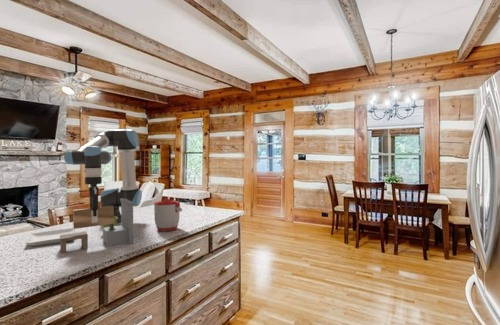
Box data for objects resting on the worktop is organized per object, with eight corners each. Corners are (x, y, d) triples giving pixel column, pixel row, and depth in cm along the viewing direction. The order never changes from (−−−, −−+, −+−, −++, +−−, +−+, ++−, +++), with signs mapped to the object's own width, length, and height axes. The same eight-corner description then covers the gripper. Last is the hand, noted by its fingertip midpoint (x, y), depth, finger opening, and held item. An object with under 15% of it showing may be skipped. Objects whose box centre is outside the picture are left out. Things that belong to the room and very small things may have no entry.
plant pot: (121, 231, 172) (121, 217, 171) (108, 235, 163) (107, 220, 163) (110, 229, 176) (110, 216, 175) (97, 233, 167) (96, 219, 167)
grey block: (102, 239, 156) (101, 200, 155) (125, 235, 163) (125, 198, 163) (108, 248, 141) (108, 205, 140) (134, 243, 148) (133, 202, 147)
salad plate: (25, 249, 140) (25, 242, 140) (31, 238, 158) (31, 232, 158) (75, 242, 152) (75, 236, 151) (75, 233, 170) (75, 227, 169)
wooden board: (73, 237, 141) (73, 209, 140) (112, 231, 151) (112, 205, 151) (74, 238, 138) (73, 210, 138) (113, 232, 149) (113, 206, 149)
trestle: (60, 248, 140) (60, 234, 139) (85, 244, 146) (85, 231, 146) (61, 253, 133) (61, 238, 133) (87, 248, 140) (87, 234, 140)
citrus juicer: (176, 233, 167) (175, 199, 166) (149, 232, 170) (148, 199, 169) (186, 226, 182) (186, 196, 182) (161, 225, 185) (161, 195, 185)
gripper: (83, 175, 148) (83, 219, 149) (87, 177, 136) (87, 225, 136) (98, 175, 153) (99, 218, 153) (104, 176, 140) (105, 223, 141)
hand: (94, 221), depth 145 cm, fingers closed on wooden board, 3 cm apart
